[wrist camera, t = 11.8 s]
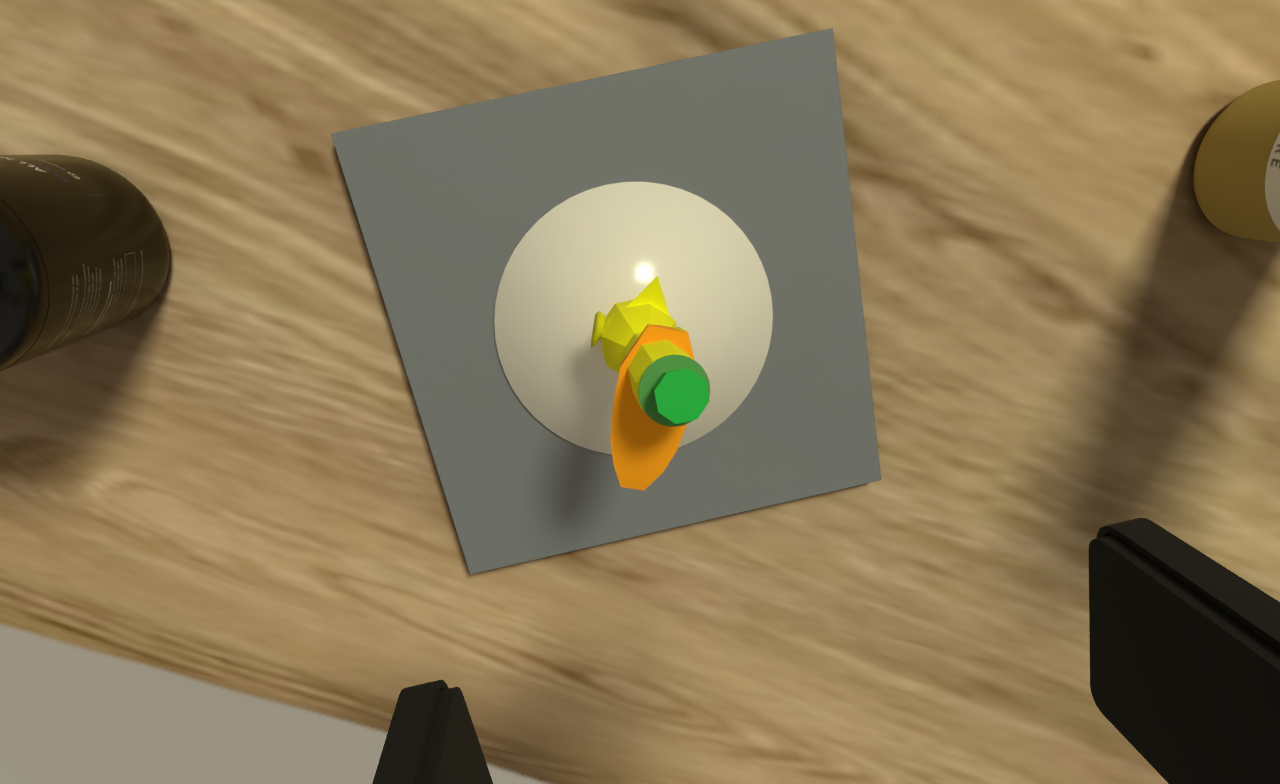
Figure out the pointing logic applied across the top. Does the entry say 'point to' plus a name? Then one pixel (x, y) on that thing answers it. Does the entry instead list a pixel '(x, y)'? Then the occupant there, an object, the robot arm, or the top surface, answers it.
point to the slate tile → (624, 290)
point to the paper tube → (1243, 166)
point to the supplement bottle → (72, 253)
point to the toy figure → (649, 384)
